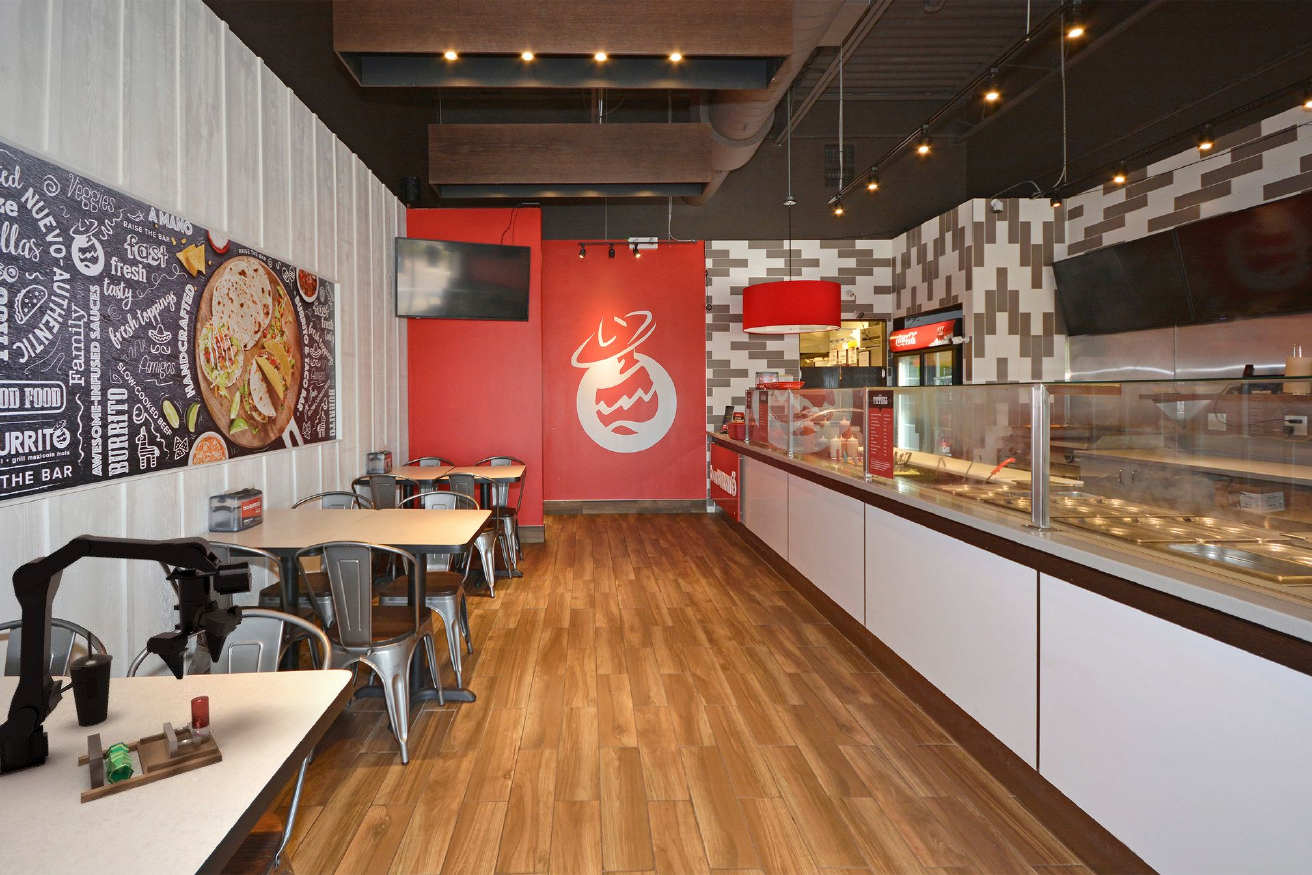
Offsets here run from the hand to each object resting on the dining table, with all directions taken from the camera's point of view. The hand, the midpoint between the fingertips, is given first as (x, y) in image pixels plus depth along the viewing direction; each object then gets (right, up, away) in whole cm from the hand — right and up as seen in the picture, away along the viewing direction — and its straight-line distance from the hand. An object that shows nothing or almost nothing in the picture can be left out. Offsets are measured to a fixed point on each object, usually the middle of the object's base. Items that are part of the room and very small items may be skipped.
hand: (198, 670), depth 143 cm
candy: (-5, -15, -15) cm, 21 cm away
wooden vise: (-2, -14, -11) cm, 18 cm away
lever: (+3, -12, -7) cm, 15 cm away
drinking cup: (-27, -13, +6) cm, 31 cm away
